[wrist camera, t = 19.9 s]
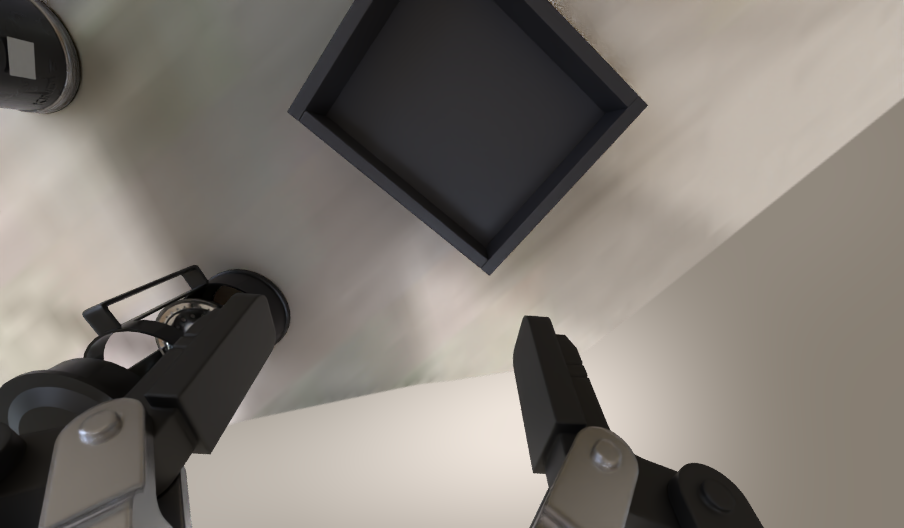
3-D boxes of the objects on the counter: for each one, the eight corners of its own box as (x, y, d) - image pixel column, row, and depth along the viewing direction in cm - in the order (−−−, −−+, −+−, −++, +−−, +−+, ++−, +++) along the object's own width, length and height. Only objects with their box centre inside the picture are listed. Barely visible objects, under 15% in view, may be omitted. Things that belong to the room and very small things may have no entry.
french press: (309, 337, 36) (81, 611, 15) (238, 364, 38) (-68, 651, 16) (250, 240, 33) (-158, 406, 11) (174, 273, 35) (-319, 478, 13)
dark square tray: (314, 118, 30) (286, 111, 25) (435, -72, 25) (429, -125, 20) (485, 258, 33) (489, 275, 28) (617, 113, 29) (648, 105, 24)
